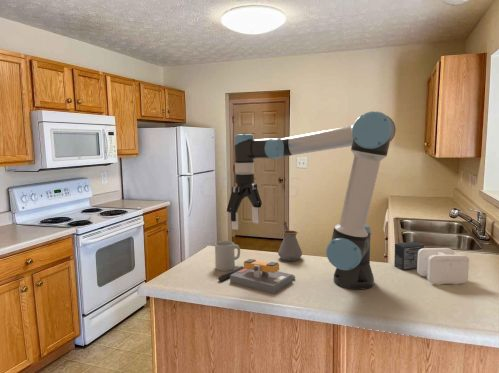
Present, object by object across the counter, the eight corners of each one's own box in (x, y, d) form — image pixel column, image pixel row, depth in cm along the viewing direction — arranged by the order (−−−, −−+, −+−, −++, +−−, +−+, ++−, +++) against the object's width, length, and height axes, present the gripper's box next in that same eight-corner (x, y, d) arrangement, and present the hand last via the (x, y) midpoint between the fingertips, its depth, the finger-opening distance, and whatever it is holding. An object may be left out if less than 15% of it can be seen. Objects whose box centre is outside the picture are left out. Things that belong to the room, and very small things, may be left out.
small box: (413, 263, 163) (414, 240, 162) (424, 268, 157) (425, 244, 155) (393, 266, 160) (394, 242, 159) (403, 271, 154) (404, 246, 152)
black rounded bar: (244, 270, 156) (244, 266, 156) (221, 282, 143) (221, 277, 143) (241, 269, 157) (241, 265, 157) (217, 281, 144) (217, 276, 144)
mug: (221, 272, 154) (221, 247, 153) (212, 266, 161) (211, 242, 160) (245, 266, 161) (244, 242, 160) (234, 261, 168) (234, 238, 167)
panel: (292, 281, 143) (292, 263, 142) (273, 293, 131) (273, 274, 131) (250, 272, 154) (250, 254, 153) (230, 282, 143) (229, 263, 142)
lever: (279, 270, 140) (278, 262, 140) (273, 273, 137) (273, 265, 136) (249, 265, 148) (249, 258, 148) (243, 268, 145) (243, 261, 144)
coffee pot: (304, 262, 166) (304, 230, 165) (279, 263, 166) (279, 230, 164) (295, 248, 188) (295, 220, 186) (273, 249, 187) (273, 220, 185)
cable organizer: (452, 275, 148) (454, 247, 147) (468, 285, 138) (470, 255, 136) (416, 275, 148) (417, 248, 147) (429, 286, 137) (431, 256, 136)
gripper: (255, 171, 156) (255, 219, 158) (216, 175, 136) (218, 230, 138) (269, 171, 152) (270, 221, 154) (232, 176, 132) (233, 233, 134)
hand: (245, 226), depth 146 cm, fingers open, 13 cm apart
